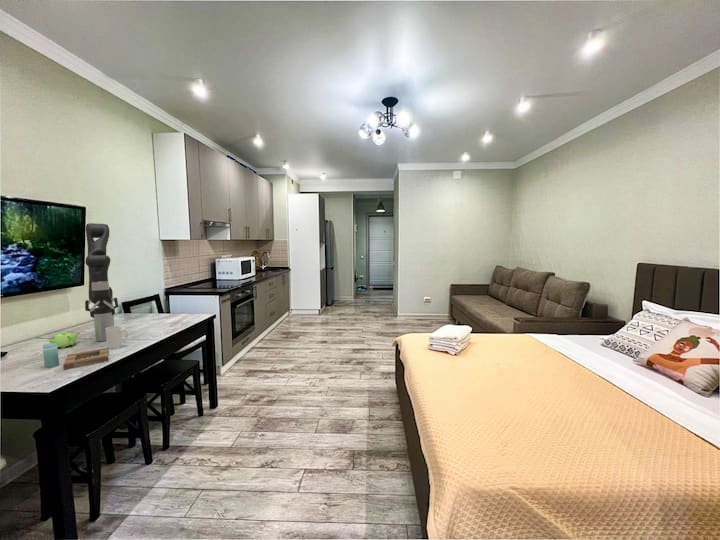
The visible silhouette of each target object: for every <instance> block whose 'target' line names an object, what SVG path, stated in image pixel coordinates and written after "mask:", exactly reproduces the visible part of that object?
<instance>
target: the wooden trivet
mask: <svg viewBox="0 0 720 540" xmlns="http://www.w3.org/2000/svg"><path fill="white" fill-rule="evenodd" d="M109 354H110V349H109V348H107V347H105V348H104V347H103V348H97V349H94V350H87V351H86V350H85V351H81V352H76V353H75V352H74V353H70V354H67V355H66V358H65V359H64V362H63V367H62V368H63V371H65V370H70V368H71V369H76V368H81V367H85V365H86V366H90V365H89V364H92V365H95V364H94V363H97V364H100V363H99V362H102V363H105V362H104V361H107V362H109V358H108V356H109V357H110V355H109ZM97 355H99V356H97ZM91 356H94V357H91ZM87 357H89V358H87ZM81 358H83V359H81ZM77 359H78V360H77ZM80 366H81V367H80ZM75 367H76V368H75Z"/></svg>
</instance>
